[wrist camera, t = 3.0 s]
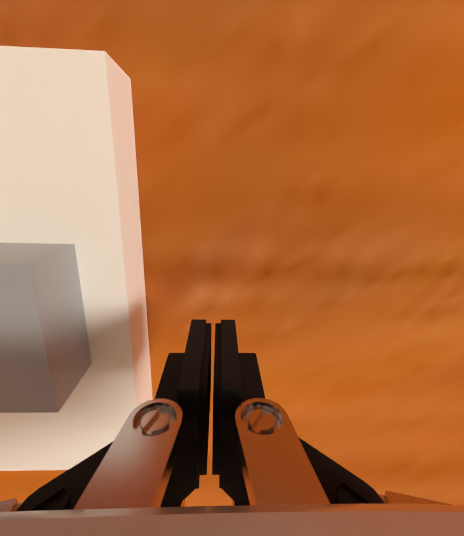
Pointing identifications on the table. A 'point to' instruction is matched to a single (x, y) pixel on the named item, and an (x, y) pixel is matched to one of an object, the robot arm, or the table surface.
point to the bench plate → (77, 236)
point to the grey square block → (40, 327)
